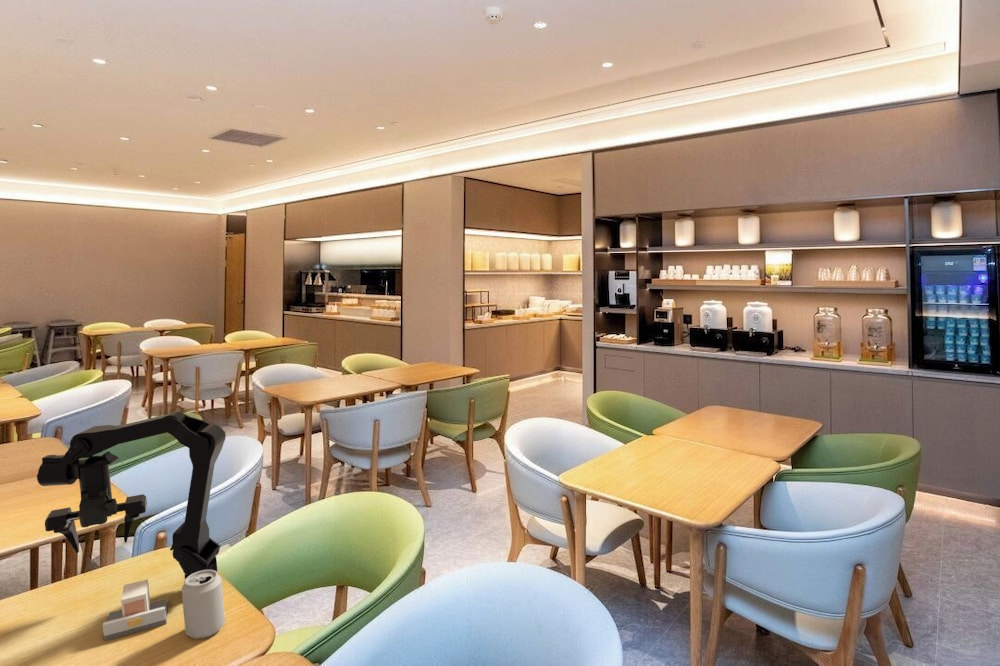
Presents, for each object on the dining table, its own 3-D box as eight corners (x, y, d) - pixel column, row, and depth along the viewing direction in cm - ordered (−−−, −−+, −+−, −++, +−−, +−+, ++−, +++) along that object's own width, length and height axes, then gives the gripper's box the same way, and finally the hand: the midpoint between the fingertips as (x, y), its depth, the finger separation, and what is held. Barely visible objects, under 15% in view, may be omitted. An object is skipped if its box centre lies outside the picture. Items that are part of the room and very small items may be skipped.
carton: (126, 610, 126) (124, 585, 125) (150, 604, 128) (147, 579, 127) (123, 627, 120) (120, 600, 119) (148, 620, 122) (146, 594, 121)
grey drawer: (167, 602, 130) (166, 588, 130) (165, 624, 122) (164, 609, 121) (109, 617, 125) (108, 602, 124) (104, 641, 117) (102, 625, 116)
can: (209, 643, 116) (204, 588, 114) (177, 639, 117) (171, 584, 116) (233, 620, 123) (228, 568, 121) (202, 616, 124) (198, 565, 123)
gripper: (35, 504, 118) (43, 574, 120) (140, 486, 127) (147, 551, 129) (46, 486, 128) (54, 551, 130) (143, 470, 137) (150, 531, 139)
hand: (102, 546), depth 132 cm, fingers open, 9 cm apart
